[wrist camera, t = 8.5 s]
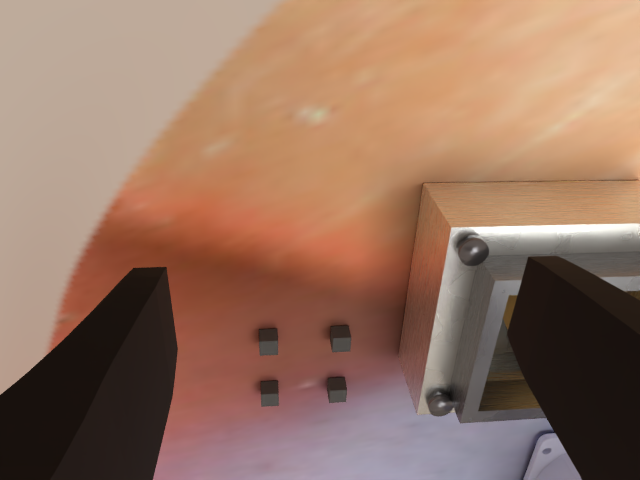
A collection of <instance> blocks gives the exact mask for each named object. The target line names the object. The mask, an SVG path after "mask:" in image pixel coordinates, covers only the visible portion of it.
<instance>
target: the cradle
mask: <svg viewBox="0 0 640 480" xmlns="http://www.w3.org/2000/svg"><path fill="white" fill-rule="evenodd" d="M330 342H331V348H332V352H347V351H350V347H351V334H350V330H349V326H331V335H330ZM259 348H260V356H262V355H278V332H277V329H259ZM327 391H328V398H329V403H335V402H346V395H347V387H346V382H345V377H342V378H328V388H327ZM264 406H279V397H278V381H264V382H261V407H264Z"/></svg>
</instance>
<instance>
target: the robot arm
mask: <svg viewBox="0 0 640 480" xmlns="http://www.w3.org/2000/svg"><path fill="white" fill-rule="evenodd" d="M507 336H508V339H509V342H510V344H511V347H512V350H513V352H514V355H515V358H516V360H517V362H518V365H519V367H520V369H521V372H522V374H523V377H524V379H525V380H526V382H527V384H528V386H529V388H530V390H531V391H532V393H533V395H534V397H535V398H536V400H537V402H538V404H539V406H540V407H541V409H542V411H543V413H544V414H545V416H546V418H547V420H548V421H549V423H550V425H551V426H552V428H553V430H554V432H555V433H550V434H544V435H542V436H541V437H539V439H538V441H537V444H536V446H535V449H534V452H533V455H532V457H531V460H530V463H529V466H528V468H527V471H526V474H525V477H524V479H523V480H640V300H639V299H637V298H635V297H633V296H632V295H630V294H628V293H626V292H624V291H623V290H621V289H619V288H617V287H616V286H614V285H612V284H610V283H608V282H607V281H605V280H603V279H601V278H600V277H598V276H596V275H594V274H592V273H590V272H589V271H587V270H585V269H583V268H581V267H579V266H577V265H575V264H573V263H571V262H569V261H567V260H565V259H563V258H561V257H558V256H534V257H528V259H527V263H526V266H525V270H524V274H523V277H522V281H521V285H520V288H519V292H518V295H517V299H516V303H515V306H514V310H513V313H512V317H511V321H510V324H509V328H508V331H507ZM177 350H178V348H177V341H176V333H175V326H174V319H173V312H172V304H171V297H170V290H169V283H168V275H167V268H166V267H152V268H133V269H132V270H131V271H130V272H129V273H128V274H127V275H126V276H125V277H124V278H123V279H122V280H121V281H120V282H119V283H118V284H117V285H116V286H115V287H114V289H113V290H112V291H111V292H110V293H109V294H108V295H107V296H106V297H105V298H104V299H103V300H102V301H101V302H100V303H99V304H98V305H97V307H96V308H95V309H94V310H93V311H92V312H91V313H90V314H89V315H88V316H87V317H86V318H85V319H84V320H83V321H82V322H81V323H80V324H79V325H78V326H77V327H76V328H75V329H74V330H73V331H72V332H71V333H70V334H69V335H68V336H67V337H66V338H65V339H64V340H63V341H62V342H61V343H60V344H58V345H57V346H56V347H55V348H54V349H53V350H52V351H51V352H50V353H49V354H47V355H46V356H45V357H44V358H43V359H42V360H41V361H40V362H39V363H38V364H36V365H35V366H34V367H33V368H32V369H31V370H30V371H29V372H28V373H26V374H25V375H24V376H23V377H22V378H21V379H19V380H18V381H17V382H16V383H15V384H13V385H12V386H11V387H10V388H8V389H7V390H6V391H5V392H3V393H2V394H1V395H0V480H153V476H154V472H155V468H156V464H157V459H158V455H159V451H160V447H161V443H162V439H163V435H164V430H165V426H166V422H167V417H168V413H169V409H170V405H171V400H172V396H173V387H174V379H175V370H176V360H177Z"/></svg>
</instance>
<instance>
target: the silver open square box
mask: <svg viewBox="0 0 640 480" xmlns="http://www.w3.org/2000/svg"><path fill="white" fill-rule="evenodd" d="M534 256H558V257H561V258H563V259H565V260H567V261H569V262H571V263H573V264H575V265H577V266H579V267H581V268H583V269H585V270H587V271H589V272H590V273H592V274H594V275H596V276H598V277H600V278H601V279H603V280H605V281H607V282H608V283H610V284H612V285H614V286H616V287H617V288H619V289H621V290H623V291H624V292H626V293H628V294H630V295H632V296H633V297H635V298H637V299H639V300H640V180H620V181H544V182H469V183H423V188H422V195H421V202H420V209H419V216H418V223H417V230H416V236H415V243H414V250H413V257H412V264H411V271H410V278H409V285H408V292H407V298H406V305H405V312H404V319H403V326H402V333H401V340H400V347H399V354H398V357H399V361H400V364H401V367H402V370H403V373H404V376H405V379H406V382H407V385H408V388H409V391H410V394H411V397H412V401H413V404H414V407H415V410H416V413H417V415H421V414H432V415H434V416H444V415H446V414H448V413H455V412H456V415H457V417H458V420H459V422H460V423H472V422H488V421H504V420H520V419H536V418H546V416H545V414H544V413H543V411H542V409H541V407H540V406H539V404H538V402H537V400H536V398H535V397H534V395H533V393H532V391H531V390H530V388H529V386H528V384H527V382H526V380H525V379H524V377H523V374H522V372H521V369H520V367H519V365H518V362H517V360H516V358H515V355H514V352H513V350H512V347H511V344H510V342H509V339H508V336H507V331H508V329H507V327H506V325H505V323H504V320H503V316H504V312H505V308H506V304H507V301H508V297H509V295H518V292H519V288H520V285H521V281H522V277H523V274H524V270H525V266H526V263H527V259H528V257H534Z"/></svg>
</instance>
